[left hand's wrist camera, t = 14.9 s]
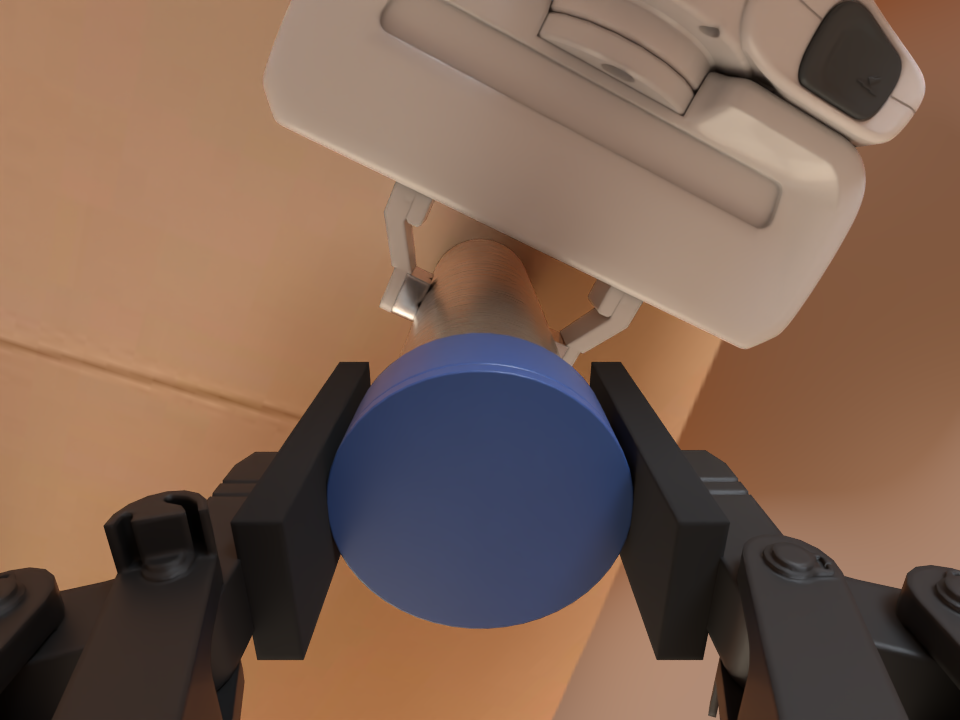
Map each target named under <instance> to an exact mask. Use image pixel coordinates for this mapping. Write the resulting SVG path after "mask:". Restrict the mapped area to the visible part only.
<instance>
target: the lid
mask: <svg viewBox="0 0 960 720" xmlns="http://www.w3.org/2000/svg"><path fill="white" fill-rule="evenodd" d="M327 506H328V514H329V522H330V528H331V532H332V536H333V538H334V540H335V543H336V545H337V547H338V550H339V552H340V553H341V555H342V557H343V558H344V560H345V562H346V563H347V565H348V566H349V568H350V569H351V570H352V571H353V572H354V574H355V575H356V576H357V577H358V579H359V580H360V581H361V582H362V583H364V584H365V585H366V586H367V587H368V588H369V589H370V590H371V591H372V592H373V593H375V594H376V595H377V596H379V597H380V598H382V599H383V600H384V601H386V602H387V603H389V604H391V605H393V606H394V607H396V608H398V609H399V610H401V611H404V612H406V613H408V614H410V615H413V616H415V617H417V618H420V619H424V620H427V621H430V622H433V623H437V624H442V625H447V626H451V627H461V628H472V629H489V628H500V627H508V626H513V625H518V624H524V623H527V622H530V621H533V620H537V619H540V618H543V617H545V616H547V615H550V614H552V613H554V612H557V611H559V610H561V609H562V608H564V607H566V606H568V605H569V604H571V603H573V602H574V601H576V600H577V599H579V598H580V597H581V596H583V595H584V594H585V593H587V592H588V591H589V590H590V589H591V588H592V587H593V586H594V585H596V584H597V583H598V582H599V581H600V580H601V579H602V577H603V576H604V575H605V574H606V573H607V571H608V570H609V569H610V568H611V566H612V565H613V563H614V562H615V560H616V559H617V557H618V555H619V554H620V552H621V550H622V547H623V545H624V543H625V541H626V539H627V535H628V532H629V528H630V525H631V517H632V509H633V484H632V478H631V473H630V469H629V466H628V463H627V460H626V458H625V455H624V452H623V450H622V448H621V446H620V444H619V442H618V440H617V438H616V436H615V434H614V432H613V430H612V428H611V426H610V423H609V421H608V419H607V417H606V415H605V413H604V411H603V409H602V407H601V405H600V403H599V401H598V399H597V397H596V396H595V394H594V392H593V390H592V389H591V388H590V386H589V385H588V384H587V382H586V381H585V380H584V378H583V377H582V376H581V375H580V374H579V373H578V372H577V371H576V370H575V369H574V368H573V367H572V366H571V365H569V364H568V363H567V362H566V361H564V360H563V359H562V358H560V357H559V356H558V355H556V354H554V353H552V352H551V351H549V350H547V349H545V348H544V347H541V346H539V345H537V344H534V343H532V342H529V341H527V340H523V339H519V338H516V337H512V336H508V335H500V334H493V333H468V334H460V335H452V336H448V337H444V338H440V339H436V340H434V341H431V342H428V343H426V344H423V345H421V346H419V347H417V348H415V349H413V350H411V351H409V352H408V353H406V354H404V355H403V356H401V357H400V358H398V359H397V360H396V361H394V362H393V363H392V364H390V365H389V366H388V367H387V368H386V369H385V370H384V371H383V372H382V373H381V374H380V375H379V376H378V377H377V378H376V380H375V381H374V382H373V384H372V385H371V386H370V388H369V389H368V390H367V392H366V394H365V396H364V398H363V399H362V401H361V403H360V405H359V407H358V409H357V411H356V413H355V415H354V417H353V419H352V421H351V423H350V425H349V427H348V429H347V432H346V434H345V436H344V438H343V440H342V442H341V444H340V446H339V448H338V450H337V452H336V455H335V457H334V460H333V463H332V465H331V468H330V473H329V478H328V483H327Z"/></svg>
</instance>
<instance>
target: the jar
mask: <svg viewBox="0 0 960 720" xmlns="http://www.w3.org/2000/svg"><path fill="white" fill-rule="evenodd" d="M433 275H434V277H433V279H432V282H431V284H430V287H429V289H428V291H427V293H426V296H425V297H424V299H423V300H422V302H421V304H420V307H419V309H418V312H417V314H416V317H415V319H414V322H413V324H412V327H411V329H410V331H409V334H408V336H407V339H406V341H405V344H404V346H403V349H402V351H401V354H400V356H399V358H400V357H401V356H403V355H404V354H406V353H408V352H409V351H411V350H413V349H415V348H417V347H419V346H421V345H423V344H426V343H428V342H431V341H434V340H436V339H440V338H444V337H448V336H452V335H460V334H468V333H493V334H500V335H508V336H512V337H516V338H519V339H523V340H527V341H529V342H532V343H534V344H537V345H539V346H541V347H544V348H545V349H547V350H549V351H551V352H552V353H554V354H556V355H558V356H559V357H560V358H561V356H560V354H559V351H558V349H557V346H556V344H555V341H554V339H553V336H552V334H551V331H550V329H549V326H548V324H547V321H546V319H545V316H544V314H543V311H542V309H541V306H540V304H539V301H538V299H537V297H536V294H535V292H534V289H533V287H532V284H531V282H530V279H529V277H528V274H527V272H526V269H525V267H524V265H523V263H522V262H521V260H520V259H519V257H518V256H517V255H516V254H515V253H514V252H513V251H512V250H510V249H509V248H508V247H506V246H504V245H503V244H501V243H498V242H495V241H492V240H486V239H474V240H468V241H465V242H462V243H460V244H458V245H456V246H454V247H453V248H451V249H450V250H449V251H447V252H446V253H445V254H444V255H443V257H442V258H441V259H440V261H439V262H438V264H437V266H436V268H435V270H434V272H433Z"/></svg>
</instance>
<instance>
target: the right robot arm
mask: <svg viewBox="0 0 960 720" xmlns="http://www.w3.org/2000/svg"><path fill="white" fill-rule="evenodd" d="M263 88H264V91H265V94H266V97H267V100H268V103H269V106H270V109H271V112H272V115H273V117H274V119H275V121H276V122H277V123H278V124H280V125H281V126H283V127H285V128H287V129H289V130H291V131H293V132H295V133H297V134H299V135H301V136H303V137H305V138H307V139H309V140H312V141H314V142H316V143H318V144H320V145H322V146H324V147H326V148H328V149H330V150H332V151H334V152H336V153H338V154H340V155H342V156H345V157H347V158H349V159H351V160H353V161H355V162H357V163H359V164H361V165H363V166H365V167H367V168H369V169H371V170H373V171H375V172H378V173H380V174H382V175H384V176H386V177H388V178H390V179H392V180H394V181H396V183H395V185H394V188H393V190H392V193H391V195H390V198H389V200H388V203H387V205H386V208H385V210H384V216H385V223H386V230H387V237H388V243H389V250H390V257H391V264H392V266H393V267H395V268H394V271H393V273H392V276H391V278H390V280H389V283H388V285H387V288H386V290H385V292H384V295H383V297H382V300H381V302H380V306H379V307H380V308H382V309H384V310H386V311H388V312H391V313H393V314H396V315H398V316H400V317H403V318H405V319H407V320H410V321H412V322H414V319H415V317H416V314H417V312H418V309H419V307H420V304H421V302H422V300H423V299H424V297H425V296H426V293H427V291H428V289H429V287H430V284H431V282H432V279H433V277H434V275H433V274H431V273H429V272H427V271H425V270H423V269H421V268H419V267H417V266H416V257H415V247H414V238H413V229H412V225H414V226H416V227H418V226H421V225H422V224H423V222H424V221H425V220H426V219H427V217H428V214H429V212H430V210H431V208H432V205H433V203H434V201H437V202H439V203H441V204H444V205H446V206H448V207H450V208H452V209H454V210H456V211H458V212H460V213H462V214H464V215H466V216H468V217H470V218H472V219H474V220H477V221H479V222H481V223H483V224H485V225H487V226H489V227H491V228H493V229H495V230H497V231H499V232H501V233H503V234H505V235H507V236H510V237H512V238H514V239H516V240H518V241H520V242H522V243H524V244H526V245H528V246H530V247H532V248H534V249H536V250H538V251H540V252H543V253H545V254H547V255H549V256H551V257H553V258H555V259H557V260H559V261H561V262H563V263H565V264H567V265H569V266H571V267H573V268H576V269H578V270H580V271H582V272H584V273H586V274H588V275H590V276H592V277H594V278H596V279H597V280H596V282H595V284H594V286H593V288H592V289H591V291H590V293H589V295H588V299H589V301H590V302H591V303H592V305H593V306H594V307H595V308H594V309H592V310H591V311H589V312H588V313H586V314H585V315H583V316H582V317H580V318H579V319H577V320H576V321H574V322H573V323H572V324H570V325H569V326H567V327H566V328H564V329H563V330H561V331H560V332H558V331H555V330H553V329H551V328H549V329H550V331H551V334H552V336H553V339H554V341H555V344H556V346H557V349H558V351H559V354H560V356H561V358H562V359H563V360H564V361H566V362H567V363H568V364H569V365H571V366H573V364H574V363H575V361H576V359H577V357H578V356H579V354H580V353H585V352H587V351H589V350H590V349H592V348H594V347H595V346H597V345H599V344H600V343H602V342H604V341H606V340H607V339H609V338H611V337H612V336H614V335H616V334H618V333H619V332H621V331H623V330H624V329H626V328H628V326H629V324H630V323H631V321H632V319H633V318H634V316H635V314H636V313H637V311H638V309H639V308H640V306H641V304H642V303H643V301H644V302H646V303H648V304H650V305H652V306H654V307H656V308H658V309H660V310H662V311H664V312H666V313H668V314H670V315H672V316H675V317H677V318H679V319H681V320H683V321H685V322H687V323H689V324H691V325H693V326H695V327H697V328H699V329H701V330H703V331H705V332H707V333H710V334H712V335H714V336H716V337H718V338H720V339H722V340H724V341H726V342H728V343H730V344H732V345H735V346H737V347H739V348H742V349H748V348H751V347H754V346H756V345H759V344H761V343H763V342H765V341H768V340H770V339H772V338H774V337H776V336H778V335H779V334H780V333H781V332H782V331H783V330H784V329H785V328H786V327H787V326H788V325H789V323H790V322H791V321H792V319H793V318H794V317H795V315H796V314H797V313H798V311H799V310H800V308H801V307H802V306H803V304H804V302H805V301H806V300H807V298H808V297H809V295H810V294H811V292H812V291H813V289H814V288H815V286H816V285H817V283H818V281H819V280H820V278H821V277H822V275H823V274H824V272H825V270H826V269H827V267H828V266H829V264H830V262H831V261H832V259H833V257H834V256H835V254H836V252H837V251H838V249H839V247H840V245H841V244H842V242H843V240H844V238H845V237H846V235H847V233H848V231H849V229H850V227H851V225H852V223H853V222H854V220H855V217H856V215H857V213H858V210H859V208H860V205H861V203H862V199H863V196H864V191H865V183H866V173H865V167H864V163H863V160H862V158H861V156H860V154H859V152H858V151H857V149H856V148H855V147H860V146H867V145H874V144H880V143H885V142H888V141H890V140H891V139H893V138H894V137H895V136H897V135H898V134H899V133H900V132H901V131H902V129H903V128H904V127H905V126H906V125H907V123H908V122H909V121H910V119H911V118H912V117H913V115H914V113H915V112H916V111H917V109H918V107H919V105H920V104H921V102H922V99H923V97H924V94H925V81H924V77H923V74H922V72H921V70H920V68H919V67H918V65H917V64H916V62H915V61H914V59H913V58H912V56H911V55H910V53H909V52H908V51H907V49H906V48H905V46H904V45H903V43H902V42H901V41H900V39H899V38H898V36H897V35H896V33H895V32H894V30H893V29H892V28H891V26H890V25H889V23H888V22H887V20H886V19H885V17H884V16H883V14H882V13H881V11H880V9H879V8H878V6H877V5H876V3H875V2H874V0H291V2H290V4H289V6H288V9H287V11H286V13H285V16H284V18H283V21H282V23H281V26H280V28H279V31H278V33H277V36H276V39H275V41H274V44H273V47H272V50H271V52H270V55H269V58H268V61H267V64H266V67H265V70H264V75H263Z"/></svg>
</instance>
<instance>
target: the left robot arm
mask: <svg viewBox="0 0 960 720" xmlns="http://www.w3.org/2000/svg"><path fill="white" fill-rule="evenodd" d="M370 386H371V384H370V372H369V362H339V364H338V365H337V367H336V368H335V370H334V371H333V373H332V374H331V375H330V377H329V378H328V380H327V381H326V383H325V384H324V386H323V387H322V389H321V390H320V392H319V393H318V394H317V396H316V397H315V399H314V400H313V402H312V403H311V405H310V406H309V408H308V409H307V411H306V412H305V414H304V415H303V416H302V418H301V419H300V421H299V422H298V424H297V425H296V427H295V428H294V430H293V431H292V433H291V434H290V435H289V437H288V438H287V440H286V441H285V443H284V444H283V446H282V447H281V449H280V450H279V452H254V453H253V454H251V455H250V456H248V457H247V458H245V459H244V460H242V461H241V462H239V463H237V464H236V465H235V466H234V467H233V468H232V469H231V471H230V472H229V473H228V475H227V476H226V477H225V478H224V480H223V483H222V484H220V485H219V486H218V487H217V488H216V490H215V491H214V492H213V495H212V497H209V498H208V500H206V499H205V498H204V497H203V496H201V495H200V494H199V493H195V492H190V491H185V490H184V491H167V492H163V493H159V494H155V495H150V496H147V497H145V498H142V499H140V500H138V501H135V502H133V503H130V504H128V505H127V506H125V507H124V508H122V509H121V510H119V511H118V512H116V513H115V514H113V516H112V517H111V518H110V519H109V520H108V521H107V522H106V524H105V525H104V529H105V533H106V536H107V539H108V543H109V546H110V549H111V553H112V556H113V559H114V563H115V566H116V569H117V573H118V574H117V576H116V578H115V579H112V580H109V581H105V582H101V583H96V584H92V585H87V586H82V587H78V588H73V589H69V590H64V591H59V588H58V586H57V583H56V580H55V577H54V575H52V574H51V573H50V572H48V571H47V570H46V569H39V568H23V569H17V570H10V571H7V572H3V573H0V720H240V716H241V707H242V699H243V690H244V674H243V668H242V663H241V657H242V655H243V653H244V651H245V649H246V647H247V645H248V643H249V641H250V639H251V636H252V635H253V640H254V645H255V650H256V655H257V660H304V657H305V654H306V651H307V649H308V646H309V643H310V640H311V637H312V634H313V632H314V629H315V626H316V623H317V620H318V617H319V614H320V612H321V609H322V606H323V603H324V600H325V597H326V594H327V592H328V589H329V586H330V583H331V580H332V577H333V574H334V572H335V569H336V566H337V563H338V560H339V557H340V555H341V553H340V552H339V550H338V547H337V545H336V543H335V540H334V538H333V536H332V532H331V528H330V522H329V514H328V506H327V483H328V478H329V473H330V468H331V465H332V463H333V460H334V457H335V455H336V452H337V450H338V448H339V446H340V444H341V442H342V440H343V438H344V436H345V434H346V432H347V429H348V427H349V425H350V423H351V421H352V419H353V417H354V415H355V413H356V411H357V409H358V407H359V405H360V403H361V401H362V399H363V398H364V396H365V394H366V392H367V390H368V389H369V388H370ZM590 388H591V389H592V390H593V392H594V394H595V396H596V397H597V399H598V401H599V403H600V405H601V407H602V409H603V411H604V413H605V415H606V417H607V419H608V421H609V423H610V426H611V428H612V430H613V432H614V434H615V436H616V438H617V440H618V442H619V444H620V446H621V448H622V450H623V452H624V455H625V458H626V460H627V463H628V466H629V469H630V473H631V478H632V484H633V509H632V517H631V525H630V528H629V532H628V535H627V539H626V541H625V543H624V545H623V547H622V550H621V552H620V556H621V559H622V562H623V565H624V568H625V570H626V574H627V576H628V579H629V582H630V585H631V588H632V591H633V593H634V596H635V599H636V602H637V605H638V608H639V611H640V613H641V616H642V619H643V622H644V625H645V628H646V631H647V633H648V636H649V639H650V642H651V645H652V648H653V650H654V653H655V656H656V659H657V660H703V657H704V652H705V647H706V642H707V637H708V633H709V635H710V637H711V639H712V641H713V643H714V646H715V648H716V650H717V652H718V654H719V656H720V658H719V663H718V668H717V673H716V677H715V682H714V687H713V691H712V696H711V701H710V707H709V714H708V715H709V716H712V717H716V714H717V710H718V706H719V714H720V720H960V570H956V569H953V568H947V567H940V566H934V565H928V566H919V567H915V568H914V569H912V570H911V571H910V572H908V573H907V576H906V578H905V581H904V584H903V587H902V589H898V588H894V587H889V586H884V585H880V584H875V583H870V582H865V581H861V580H857V579H853V578H849V577H846V576H844V575H843V573H842V571H841V570H840V569H839V567H838V566H837V564H836V563H835V562H834V560H832V559H831V558H830V557H829V556H827V555H826V554H825V553H823V552H822V551H821V550H819V549H818V548H816V547H814V546H812V545H810V544H808V543H805V542H803V541H801V540H798V539H795V538H791V537H787V536H784V535H783V534H782V533H781V532H780V531H779V529H778V528H777V527H776V526H775V524H774V523H773V522H772V521H771V519H770V518H769V517H768V516H767V514H766V513H765V512H764V511H763V509H762V508H761V507H760V506H759V504H758V503H757V502H756V501H755V499H754V498H753V497H752V496H751V495H749V494H748V491H747V489H746V488H745V487H744V486H743V484H742V483H741V482H738V478H737V477H736V476H735V474H734V473H733V472H732V471H731V469H730V468H729V467H728V466H727V464H726V463H724V462H723V461H721V460H720V459H718V458H717V457H715V456H713V455H712V454H710V453H709V452H707V451H706V450H680V448H679V447H678V445H677V444H676V442H675V441H674V439H673V438H672V436H671V435H670V433H669V432H668V431H667V429H666V428H665V426H664V425H663V423H662V422H661V420H660V419H659V417H658V416H657V414H656V413H655V412H654V410H653V409H652V407H651V406H650V404H649V403H648V401H647V400H646V398H645V397H644V395H643V394H642V393H641V391H640V390H639V388H638V387H637V385H636V384H635V382H634V381H633V379H632V378H631V376H630V375H629V373H628V372H627V371H626V369H625V368H624V366H623V365H622V363H621V362H592V363H591V376H590Z"/></svg>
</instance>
